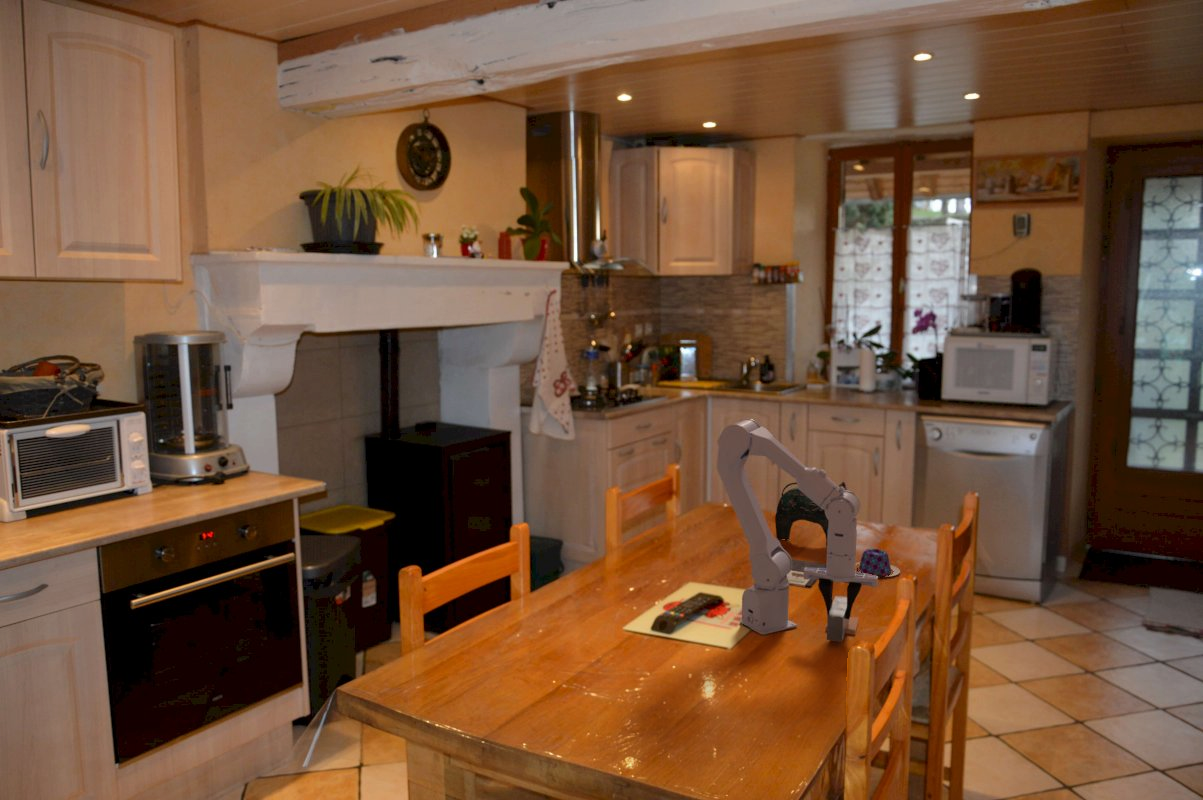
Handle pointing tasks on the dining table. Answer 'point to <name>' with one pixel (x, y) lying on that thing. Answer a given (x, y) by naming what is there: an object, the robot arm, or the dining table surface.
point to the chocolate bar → (802, 573)
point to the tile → (851, 626)
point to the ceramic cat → (798, 512)
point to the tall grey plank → (837, 619)
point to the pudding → (876, 563)
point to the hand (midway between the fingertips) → (838, 616)
